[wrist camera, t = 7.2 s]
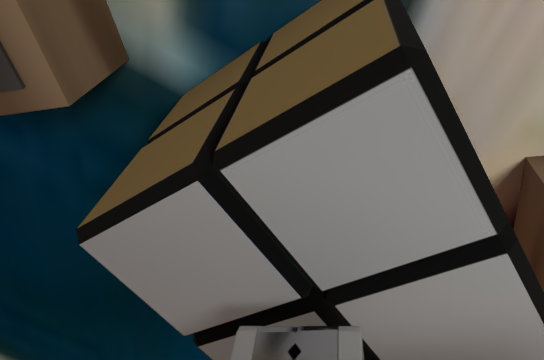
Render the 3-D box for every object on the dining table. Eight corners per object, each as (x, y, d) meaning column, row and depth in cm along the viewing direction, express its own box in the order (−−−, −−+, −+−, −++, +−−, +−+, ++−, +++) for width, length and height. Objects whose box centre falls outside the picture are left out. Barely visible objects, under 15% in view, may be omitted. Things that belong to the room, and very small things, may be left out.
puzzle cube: (479, 161, 19) (580, 364, 11) (297, 235, 23) (272, 419, 15) (379, -42, 15) (420, 38, 7) (181, 93, 19) (61, 242, 11)
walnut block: (80, -68, 16) (-15, -53, 12) (131, 62, 19) (69, 111, 14) (-24, -42, 17) (-144, -20, 13) (38, 77, 20) (-44, 127, 16)
